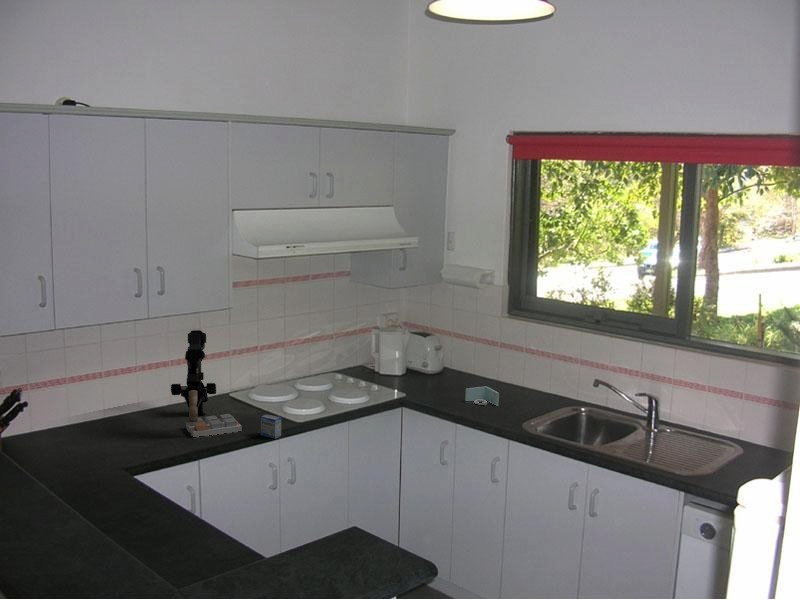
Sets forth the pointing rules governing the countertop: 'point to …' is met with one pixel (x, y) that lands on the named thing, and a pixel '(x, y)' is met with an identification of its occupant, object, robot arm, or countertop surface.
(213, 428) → the keypad
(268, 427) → the medicine box
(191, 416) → the tan banded cylinder
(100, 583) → the countertop surface
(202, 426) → the terracotta key
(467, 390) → the l-shaped corner panel
